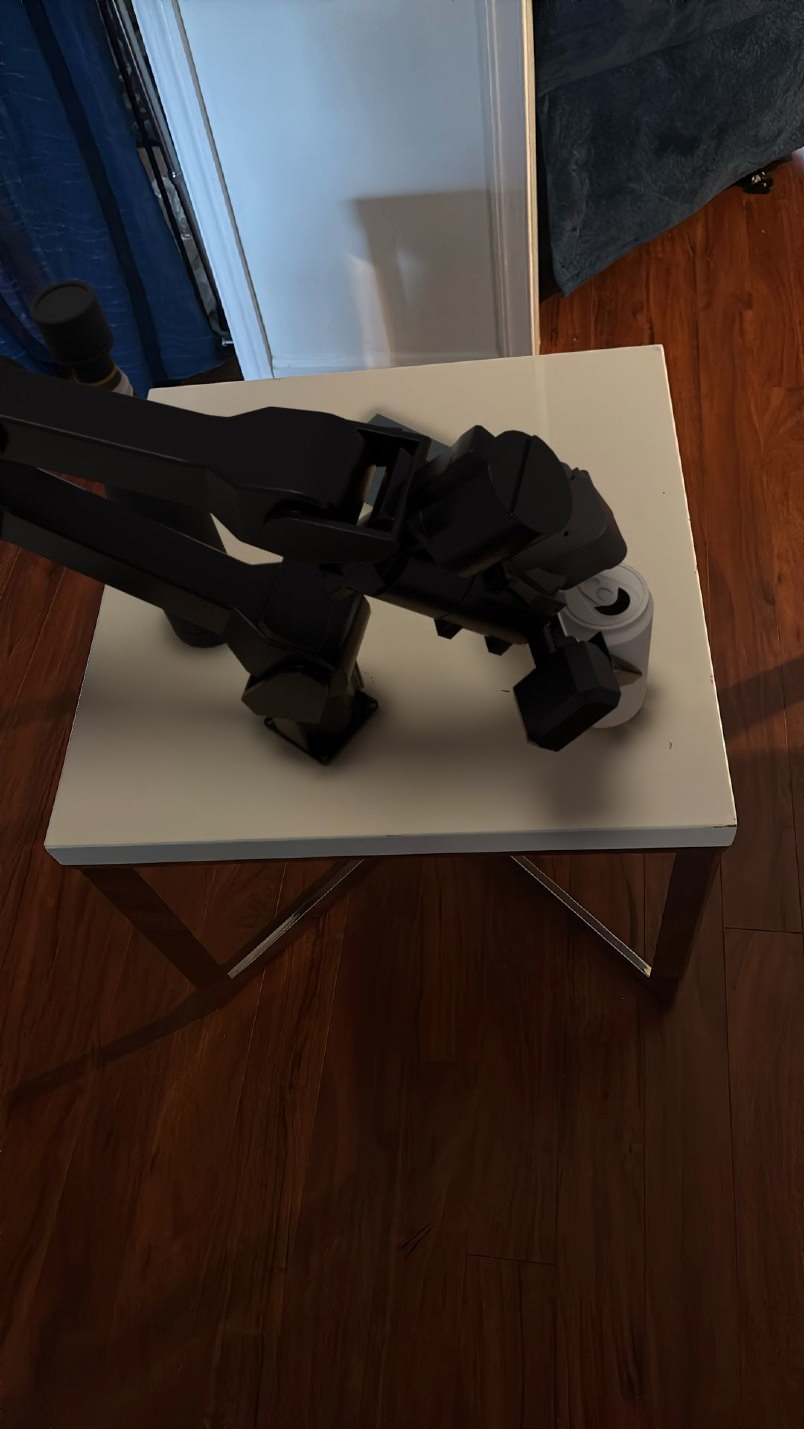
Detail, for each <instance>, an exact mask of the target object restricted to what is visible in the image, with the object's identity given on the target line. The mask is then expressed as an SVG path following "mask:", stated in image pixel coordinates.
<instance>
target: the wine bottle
mask: <svg viewBox="0 0 804 1429" xmlns="http://www.w3.org/2000/svg"><path fill="white" fill-rule="evenodd" d="M29 312H30V315H31V318H32V320H33V322H34V324H35V325H36V327H37V330H38V331H39V333H40V335H41V337H42V339H43V342H44V343H45V345H46V347H47V349H48V351H49V353H50V355H51V357H52V360H54V361H55V363H57V364H58V365H60V366H62V367H65V368H70V369H71V371H72V373H73V377H74V380H75V382H77V383H81V384H85V385H89V386H93V387H97V388H101V389H106V390H110V391H114V392H118V393H122V394H126V395H130V396H134V397H138V398H141V396H140V394H139V393H138V392H137V391H136V390H135V389H134V388H133V387H132V384H131V383H130V379H129V377H128V376H127V375H126V374H125V373H124V372H123V370H122V369H121V368H119V367H118V366H117V365H116V362H115V360H114V359H113V358H112V356H111V354H110V351H111V350H112V348H113V346H114V345H115V344H114V343H115V335H114V333H113V330H112V328H111V327H110V324H109V321H108V320H107V317H106V315H105V312H104V311H103V308H102V306H101V303H100V301H99V299H98V297H97V294H96V292H95V289H94V288H93V287H92V286H91V285H90V284H89V283H87V282H85V281H82V280H76V279H75V280H74V279H73V280H72V279H70V280H63V281H59V282H56V283H54V284H53V283H52V284H50V285H49V286H47V287H46V288H43V289H42V290H41V291H40V292H39V293H38V294H36V295H35V297H34V298H33V300H32V301H31V304H30V308H29ZM102 486H103V487H102V488H103V491H104V494H105V499H108V500H110V501H112V502H114V503H116V504H119V505H121V506H123V507H125V508H127V509H129V510H132V511H134V512H136V513H138V514H140V515H143V516H145V517H147V518H149V519H151V520H154V521H156V522H158V523H160V524H162V525H164V526H167V527H169V528H171V529H173V530H175V531H178V532H180V533H182V534H184V535H186V536H189V537H191V538H193V539H195V540H197V541H199V542H202V543H204V544H206V545H208V546H210V547H213V548H215V549H217V550H219V551H221V552H224V553H226V554H228V552H227V550H226V547H225V544H224V543H223V539H222V537H221V535H220V533H219V530H218V528H217V525H216V523H215V521H214V518H213V515H212V514H211V513H209V512H207V511H204V510H201V509H198V508H196V507H193V506H190V505H186V504H182V503H178V502H174V501H170V500H166V499H162V498H158V497H154V496H150V495H146V494H142V493H138V492H134V491H130V490H126V489H122V488H118V487H114V486H110V485H106V484H102ZM162 611H163V613H164V615H165V616H166V619H167V621H168V622H169V624H170V626H171V629H172V630H173V631H174V633H175V635H176V636H177V637H178V638H179V639H180V640H181V642H182V643H185V644H187V645H189V646H191V647H197V648H210V647H217V646H219V645H223V644H224V643H225V641H224V640H223V639H222V637H221V636H220V635H219V634H217V633H215V632H213V631H211V630H209V629H207V628H204V627H202V626H200V625H197V624H195V623H193V622H191V621H188V620H186V619H184V618H181V617H179V616H177V615H175V614H172V613H170V612H168V611H165V610H163V609H162Z"/></svg>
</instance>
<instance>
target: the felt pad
mask: <svg viewBox="0 0 804 1429" xmlns="http://www.w3.org/2000/svg"><path fill="white" fill-rule="evenodd" d="M367 423H368V424H372V425H377V426H382V427H395V428H402V430H403V431H406V432H411V433H416V434H421V435H424V434H423V433H421V432H419V431H417V430H415V429H412V428H410V427H408V426H406V425H404V424H402V423H400V422H398V421H396V420H393V419H391V418H388V417H386V416H385V415H382V414H380V413H376V414H375V415H373V417H372V418H371V419H370V420H369V421H367ZM430 438H431V439H432V446H431V449H430V453H429V456H428V459H427V461H429V462H430V461H431V460H432V459H434V458H435V457H437V456H438V455H440V454H441V453H443V452H444V451H445V450H447V449H448V448H450V447H451V446H449V445H447V444H444V443H443V442H440V441H438V440H436V439H434V438H432V437H430ZM385 470H386V467H376V469H375V472H374V475H373V478H372V481H371V484H370V487H369V490H368V493H367V496H366V499H365V502H364V503H366V504H368V505H369V506H372V507H373V506H374V503H375V500H376V497H377V494H378V491H379V488H380V485H381V482H382V479H383V476H384V473H385Z"/></svg>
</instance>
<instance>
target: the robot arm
mask: <svg viewBox="0 0 804 1429" xmlns="http://www.w3.org/2000/svg"><path fill="white" fill-rule="evenodd" d="M421 434H422V433H421ZM421 434H416V433H411V432H406V431H403V430H402V428H395V427H382V426H377V425H372V424H368V422H363V421H357V420H354V419H353V420H351V419H349V418H348V419H347V418H345V417H343V416H340V415H338V414H334V413H330V412H326V411H319V410H311V409H310V410H309V409H302V408H301V409H300V408H291V407H283V406H282V407H281V406H273V405H271V406H270V405H269V406H265V407H261V408H258V409H254V410H251V411H250V410H249V411H246V412H242V413H238V414H235V415H231V416H225V415H215V414H207V413H202V412H199V411H195V410H191V409H187V408H183V407H179V406H175V405H170V404H166V403H162V402H158V401H154V400H150V399H147V398H142V397H140V398H138V397H134V396H130V395H126V394H122V393H118V392H114V391H110V390H106V389H101V388H97V387H93V386H89V385H85V384H81V383H77V382H76V381H72V380H69V379H64V378H60V377H56V376H52V375H48V374H44V373H40V372H35V371H31V370H28V369H27V368H26V367H25V366H24V365H22V364H21V363H19V362H18V361H16V360H15V359H13V358H12V357H9V356H6V355H4V354H1V353H0V541H3V542H7V543H9V544H12V545H14V546H17V547H18V548H21V549H23V550H25V551H28V552H30V553H33V554H35V555H38V556H40V557H42V558H44V559H46V560H48V561H51V562H53V563H56V564H58V565H60V566H62V567H64V568H66V569H69V570H71V571H73V572H76V573H78V574H80V575H83V576H85V577H88V578H90V579H91V580H95V581H96V582H99V583H101V584H103V585H105V586H108V587H111V588H113V589H115V590H117V591H120V592H122V593H124V594H127V595H129V596H131V597H133V598H136V599H138V600H140V601H143V602H145V603H147V604H149V605H152V606H155V607H156V608H159V609H161V610H162V611H163V610H165V611H168V612H170V613H172V614H175V615H177V616H179V617H181V618H184V619H186V620H188V621H191V622H193V623H195V624H197V625H200V626H202V627H204V628H207V629H209V630H211V631H213V632H215V633H217V634H219V635H220V636H221V637H222V639H223V640H224V641H225V642H224V643H225V644H226V646H227V647H228V649H229V650H230V651H231V653H233V655H234V656H235V658H236V659H237V661H238V662H239V663H240V664H241V666H242V667H243V668H244V670H245V671H246V672H247V673H248V674H249V676H248V678H247V681H246V684H245V687H244V690H243V692H242V694H241V697H240V701H241V702H242V703H243V704H244V706H246V707H247V708H248V709H249V710H250V711H251V712H252V713H253V714H254V715H255V716H259V717H263V725H264V726H265V728H266V729H267V730H269V731H270V732H271V733H273V735H276V736H277V737H279V738H280V739H281V740H283V741H284V742H286V743H288V744H289V745H291V746H292V747H294V748H295V749H296V750H297V751H299V752H301V753H302V754H304V755H305V756H307V757H309V759H311V760H312V761H314V762H316V763H317V764H319V765H320V766H322V767H324V766H325V767H326V766H329V765H330V764H331V763H332V762H333V761H334V760H335V759H336V758H337V756H338V755H339V754H340V753H341V752H342V751H343V750H344V749H345V748H346V747H347V745H348V744H349V743H350V742H351V741H352V740H353V739H354V737H355V736H356V735H357V734H358V733H359V732H361V730H362V729H363V728H364V726H366V724H367V723H368V722H369V721H370V720H371V719H372V718H373V716H374V715H375V714H376V713H377V712H378V711H379V709H380V703H379V701H378V700H377V699H376V698H374V697H373V696H372V695H370V694H368V693H367V692H365V691H363V689H364V688H365V682H364V679H363V676H362V672H361V669H360V666H359V663H358V659H357V658H358V655H359V653H360V648H361V646H362V643H363V639H364V637H365V634H366V630H367V627H368V623H369V620H370V617H371V614H372V610H371V609H372V608H371V604H370V602H369V601H368V599H367V597H369V598H372V599H375V600H378V601H380V602H384V603H385V604H386V603H387V604H389V605H393V606H396V607H398V608H401V609H404V610H407V611H411V612H413V613H415V614H420V615H422V616H425V617H429V618H431V619H433V622H434V626H435V631H436V634H437V636H438V637H441V638H444V639H446V640H450V641H451V640H452V639H453V638H455V636H456V635H458V634H459V633H460V632H461V631H462V630H465V631H469V632H471V633H475V634H478V635H480V636H483V639H484V642H485V645H486V649H487V652H488V653H489V654H493V655H495V656H498V657H502V655H504V653H506V652H507V651H508V650H509V649H510V648H512V646H514V645H517V646H520V647H523V648H524V647H526V646H528V648H529V650H530V654H531V657H532V661H533V663H534V666H535V667H534V668H533V669H531V671H530V672H528V673H527V674H526V675H525V676H524V677H522V678H521V679H520V680H519V681H518V682H517V683H515V685H513V686H512V695H513V696H512V697H513V701H514V704H515V708H516V711H517V714H518V718H519V721H520V724H521V726H522V731H523V734H524V737H525V740H526V744H527V745H529V746H532V747H536V748H539V749H543V750H547V751H551V752H554V753H559V752H560V751H562V750H563V749H564V748H566V747H567V746H568V745H570V744H571V743H572V742H573V741H575V740H576V739H577V738H579V737H580V736H581V735H582V734H584V733H585V732H587V731H588V730H589V729H591V728H593V727H592V726H593V725H594V724H596V723H597V722H598V721H600V720H601V719H602V718H603V717H605V716H606V715H607V714H609V713H610V712H611V711H613V710H614V709H615V708H617V707H618V704H619V700H620V697H621V694H622V693H621V691H620V688H619V687H622V686H626V685H630V684H632V683H634V682H635V681H637V680H638V679H639V678H641V677H642V676H643V674H642V671H641V670H640V669H638V668H637V667H635V666H634V665H632V664H631V663H629V662H627V661H625V660H622V659H620V658H618V657H616V656H614V655H612V654H610V652H609V649H608V647H607V644H606V642H605V639H604V636H603V634H602V631H599V632H598V633H596V634H595V635H594V636H593V637H592V638H590V639H589V640H588V641H584V640H582V641H580V640H579V639H578V638H577V637H574V636H568V634H567V631H566V628H565V625H564V623H563V620H562V617H561V614H560V611H561V610H562V609H563V608H564V607H565V606H566V605H568V604H567V601H566V598H565V595H564V593H562V592H560V591H559V590H568V589H571V588H573V587H575V586H577V585H578V584H580V583H582V582H584V581H586V580H588V579H589V578H591V577H593V576H595V575H597V574H599V573H601V572H602V571H604V570H610V569H612V568H614V567H616V566H618V565H619V564H620V563H621V562H622V563H623V562H624V560H625V559H626V558H627V554H628V546H627V543H626V541H625V539H624V537H623V535H622V532H621V530H620V527H619V525H618V523H617V520H616V519H615V518H616V517H615V514H614V512H613V510H612V508H611V506H610V505H609V503H607V501H606V500H605V499H604V497H603V495H602V494H601V493H600V492H599V490H598V489H597V487H596V486H595V485H594V481H593V480H592V477H591V475H590V472H589V471H588V470H586V469H580V468H579V467H578V466H575V468H573V469H572V467H571V466H570V465H569V464H568V463H566V462H564V461H561V460H560V459H559V457H558V456H557V454H556V453H555V451H554V450H553V449H552V448H551V447H550V446H549V445H548V443H546V442H545V440H543V439H542V438H540V437H539V436H538V435H536V434H533V435H531V434H529V433H527V432H524V431H522V430H516V429H510V430H503V432H501V433H499V434H497V435H496V436H495V435H493V434H492V432H490V431H489V430H488V429H487V428H485V427H484V426H483V425H481V424H475V425H473V426H472V427H471V428H469V429H468V430H466V431H465V432H464V433H462V434H461V435H460V436H459V437H458V439H457V440H456V441H455V442H454V443H453V444H452V445H451V446H449V447H450V448H448V449H447V450H445V451H444V452H443V453H441V454H440V455H438V456H437V457H435V458H434V459H432V460H431V461H430V462H429V461H427V459H428V456H429V453H430V449H431V446H432V439H433V438H432V437H430V436H428V435H425V434H423V435H421ZM431 438H432V439H431ZM376 467H386V470H385V473H384V476H383V479H382V482H381V485H380V488H379V491H378V494H377V497H376V500H375V503H374V506H372V509H371V510H370V511H368V512H367V513H366V514H364V515H362V516H361V514H362V511H363V507H364V504H365V503H366V502H365V499H366V496H367V493H368V490H369V487H370V484H371V481H372V478H373V475H374V472H375V469H376ZM48 471H50V472H54V473H58V474H62V475H65V476H70V477H73V478H78V479H82V480H86V481H91V482H95V483H98V484H101V485H103V484H106V485H110V486H114V487H118V488H122V489H126V490H130V491H134V492H138V493H142V494H146V495H150V496H154V497H158V498H162V499H166V500H170V501H174V502H178V503H182V504H186V505H190V506H193V507H196V508H198V509H201V510H204V511H207V512H209V513H211V516H212V517H214V518H215V519H216V521H218V522H219V523H220V524H221V525H222V526H223V527H224V528H225V529H226V530H227V531H228V532H229V533H230V534H231V535H232V536H233V537H234V538H235V539H236V540H237V541H239V542H241V543H243V544H246V545H248V546H251V547H254V548H257V549H258V550H259V549H260V550H262V551H265V552H268V553H270V554H274V555H276V556H279V557H281V558H282V559H281V561H272V562H261V563H260V562H259V563H249V562H246V561H244V560H241V559H239V558H236V557H234V556H233V555H230V554H228V553H227V554H226V553H224V552H221V551H219V550H217V549H215V548H213V547H210V546H208V545H206V544H204V543H202V542H199V541H197V540H195V539H193V538H191V537H189V536H186V535H184V534H182V533H180V532H178V531H175V530H173V529H171V528H169V527H167V526H164V525H162V524H160V523H158V522H156V521H154V520H151V519H149V518H147V517H145V516H143V515H140V514H138V513H136V512H134V511H132V510H129V509H127V508H125V507H123V506H121V505H119V504H116V503H114V502H112V501H110V500H108V499H107V498H106V497H103V496H101V495H98V494H96V493H94V492H93V491H90V490H88V489H86V488H84V487H82V486H79V485H77V484H75V483H73V482H70V481H68V480H66V479H64V478H62V477H59V476H57V475H55V474H53V473H50V472H48ZM372 705H374V706H372ZM270 722H271V723H270ZM323 758H326V759H323Z"/></svg>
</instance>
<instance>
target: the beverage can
mask: <svg viewBox="0 0 804 1429" xmlns="http://www.w3.org/2000/svg"><path fill="white" fill-rule="evenodd" d="M559 591H560V592H562V593H564V595H565V598H566V601H567V604H568V605H566V606H565V607H564V608H563V609H562V610H561V611H560V614H561V617H562V620H563V623H564V625H565V628H566V631H567V634H568V636H574V637H577V638H578V639H579V640H580V641H582V640H584V641H588V640H589V639H590V638H592V637H593V636H594V635H595V634H596V633H598V632H599V631H602V634H603V636H604V639H605V642H606V644H607V647H608V649H609V652H610V654H612V655H614V656H616V657H618V658H620V659H622V660H625V661H627V662H629V663H631V664H632V665H634V666H635V667H637V668H638V669H640V670H641V671H642V674H643V676H642V677H641V678H639V679H638V680H637V681H635V682H634V683H632V684H630V685H626V686H622V687H619V688H620V691H621V693H622V694H621V697H620V700H619V704H618V707H617V708H615V709H614V710H613V711H611V712H610V713H609V714H607V715H606V716H605V717H603V718H602V719H601V720H600V721H598V722H597V723H596V724H594V725H593V726H592V727H591V728H595V729H607V728H612V727H616V726H619V725H622V724H624V723H626V722H628V721H629V720H631V719H632V718H634V716H635V715H636V714H637V713H638V712H639V711H640V709H641V708H642V706H643V704H644V702H645V699H646V692H647V691H646V690H647V683H648V674H649V672H648V671H649V661H650V652H651V643H652V642H651V640H652V630H653V620H654V610H655V603H654V598H653V594H652V593H651V591H650V589H649V586H648V582H647V581H646V579H645V577H644V576H643V575H642V574H641V573H640V571H638V570H637V569H636V568H634V567H633V566H631V565H629V564H627V563H625V562H623V561H622V562H621V563H620V564H619V565H618V566H616V567H614V568H612V569H610V570H604V571H602V572H601V573H599V574H597V575H595V576H593V577H591V578H589V579H588V580H586V581H584V582H582V583H580V584H578V585H577V586H575V587H573V588H571V589H568V590H559Z"/></svg>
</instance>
